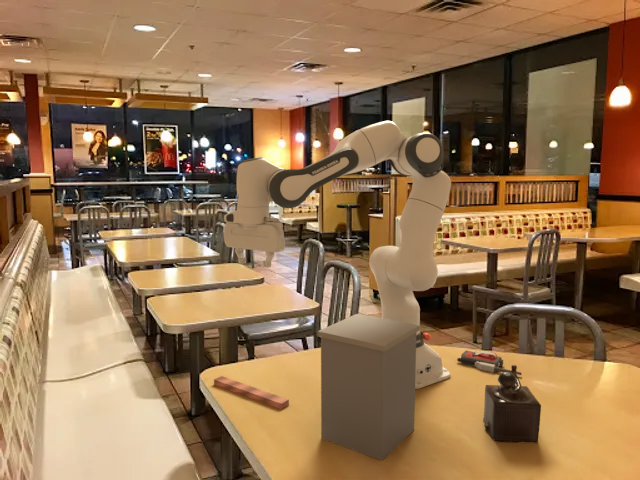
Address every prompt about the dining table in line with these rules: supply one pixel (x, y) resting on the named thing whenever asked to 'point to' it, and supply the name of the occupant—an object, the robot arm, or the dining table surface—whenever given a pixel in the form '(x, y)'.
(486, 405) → the manual coffee grinder
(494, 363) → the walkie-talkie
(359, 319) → the shelf block
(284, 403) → the copper-colored stick
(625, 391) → the dining table surface
